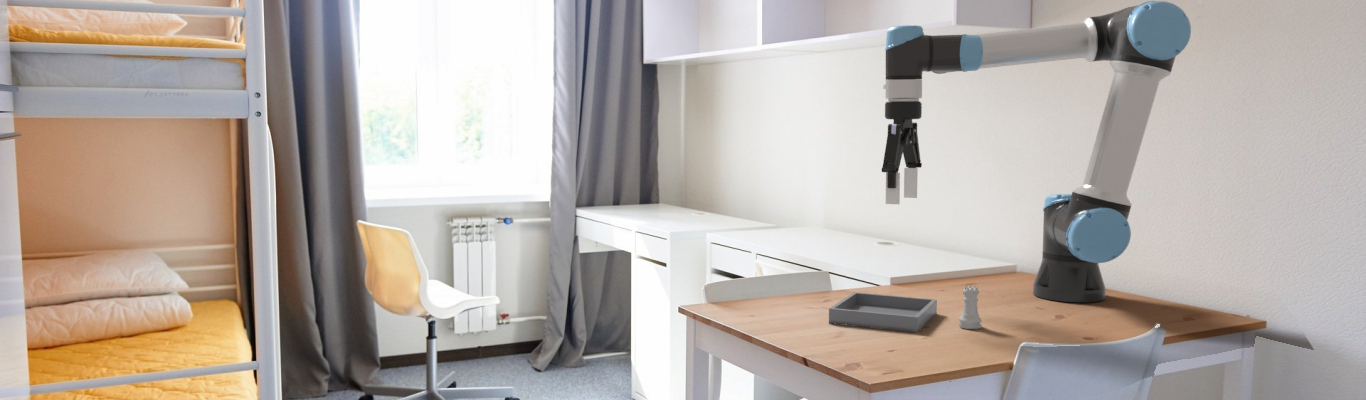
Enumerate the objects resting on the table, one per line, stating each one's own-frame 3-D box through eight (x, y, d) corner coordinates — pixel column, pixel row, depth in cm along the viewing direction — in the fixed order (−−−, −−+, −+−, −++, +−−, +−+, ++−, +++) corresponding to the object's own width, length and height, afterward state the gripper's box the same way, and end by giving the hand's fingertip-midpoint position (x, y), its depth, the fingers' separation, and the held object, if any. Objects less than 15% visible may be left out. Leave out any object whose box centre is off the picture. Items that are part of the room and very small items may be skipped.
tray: (936, 313, 196) (936, 299, 195) (917, 332, 180) (918, 317, 180) (853, 305, 203) (854, 292, 203) (828, 323, 188) (829, 308, 187)
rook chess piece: (969, 331, 181) (970, 290, 180) (953, 326, 185) (954, 286, 184) (986, 328, 183) (988, 287, 182) (970, 323, 187) (971, 283, 186)
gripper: (902, 100, 211) (900, 194, 213) (867, 100, 189) (866, 205, 191) (935, 99, 207) (934, 195, 209) (904, 100, 185) (902, 207, 188)
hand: (901, 200), depth 200 cm, fingers open, 13 cm apart
